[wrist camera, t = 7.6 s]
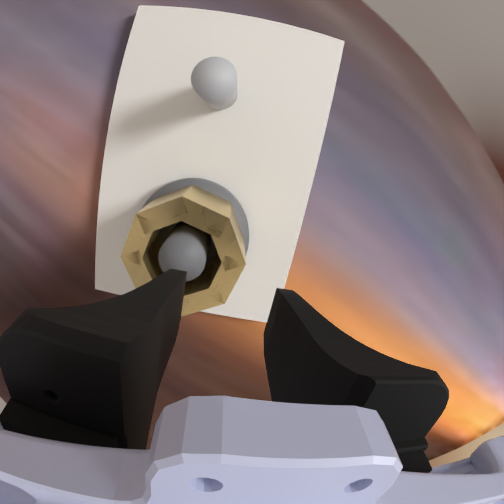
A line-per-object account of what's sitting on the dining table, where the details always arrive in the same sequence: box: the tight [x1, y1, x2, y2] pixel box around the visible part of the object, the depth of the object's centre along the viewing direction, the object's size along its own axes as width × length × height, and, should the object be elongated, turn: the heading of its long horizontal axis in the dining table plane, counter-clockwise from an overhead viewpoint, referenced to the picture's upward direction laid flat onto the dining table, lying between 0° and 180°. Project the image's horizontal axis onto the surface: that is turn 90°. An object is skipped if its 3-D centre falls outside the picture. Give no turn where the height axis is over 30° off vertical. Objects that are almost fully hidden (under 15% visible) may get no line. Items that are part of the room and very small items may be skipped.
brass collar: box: [121, 184, 246, 316], centre depth 16 cm, size 5×5×4 cm
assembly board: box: [95, 6, 345, 322], centre depth 15 cm, size 18×12×6 cm, turn 168°
